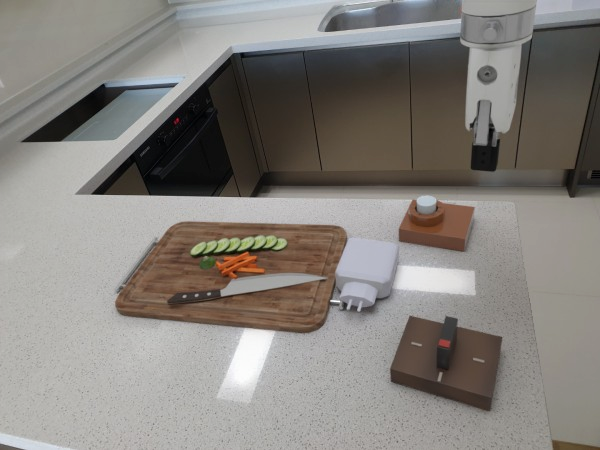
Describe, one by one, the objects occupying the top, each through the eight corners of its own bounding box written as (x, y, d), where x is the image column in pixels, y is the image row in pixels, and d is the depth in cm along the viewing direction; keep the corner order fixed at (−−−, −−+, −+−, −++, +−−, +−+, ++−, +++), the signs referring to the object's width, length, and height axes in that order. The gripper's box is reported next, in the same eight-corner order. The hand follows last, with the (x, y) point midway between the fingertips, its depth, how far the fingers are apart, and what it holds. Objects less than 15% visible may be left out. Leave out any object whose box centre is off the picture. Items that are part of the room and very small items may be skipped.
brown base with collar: (473, 219, 90) (475, 198, 87) (464, 251, 83) (465, 230, 80) (412, 211, 95) (412, 191, 92) (399, 241, 88) (398, 220, 85)
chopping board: (362, 230, 92) (361, 218, 91) (337, 336, 72) (335, 323, 70) (167, 225, 106) (162, 214, 104) (100, 313, 85) (93, 301, 84)
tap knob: (445, 335, 65) (445, 314, 63) (456, 338, 65) (458, 317, 62) (436, 366, 62) (436, 345, 59) (448, 370, 61) (449, 348, 58)
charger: (326, 315, 75) (348, 255, 86) (382, 326, 72) (398, 263, 83) (324, 295, 72) (347, 236, 83) (382, 305, 69) (399, 243, 80)
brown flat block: (500, 350, 66) (502, 336, 64) (490, 411, 59) (492, 397, 57) (409, 328, 71) (409, 314, 69) (390, 381, 64) (389, 367, 63)
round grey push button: (438, 205, 87) (438, 196, 86) (433, 216, 85) (434, 207, 84) (419, 203, 89) (419, 194, 88) (414, 213, 87) (414, 204, 85)
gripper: (527, 46, 44) (507, 202, 55) (539, 4, 55) (520, 143, 65) (447, 47, 48) (443, 195, 58) (472, 8, 58) (465, 140, 69)
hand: (483, 167), depth 62 cm, fingers closed
